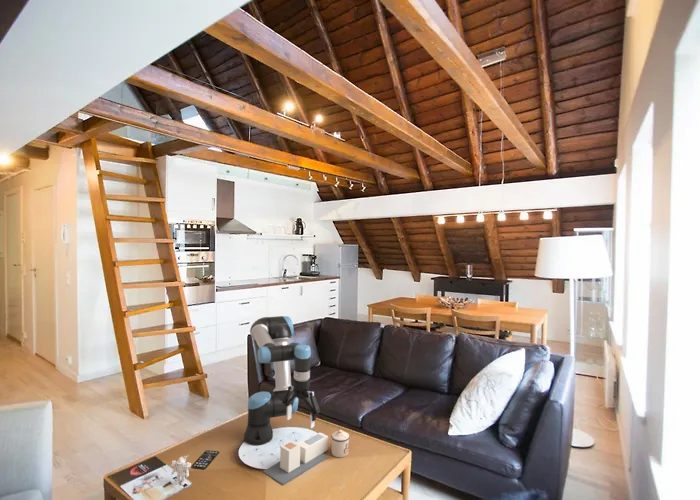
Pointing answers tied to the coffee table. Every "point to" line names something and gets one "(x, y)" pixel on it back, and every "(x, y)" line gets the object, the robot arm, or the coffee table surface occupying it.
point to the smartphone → (205, 460)
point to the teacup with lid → (340, 444)
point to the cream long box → (313, 447)
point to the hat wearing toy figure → (181, 469)
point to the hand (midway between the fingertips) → (300, 423)
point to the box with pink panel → (290, 456)
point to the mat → (286, 477)
